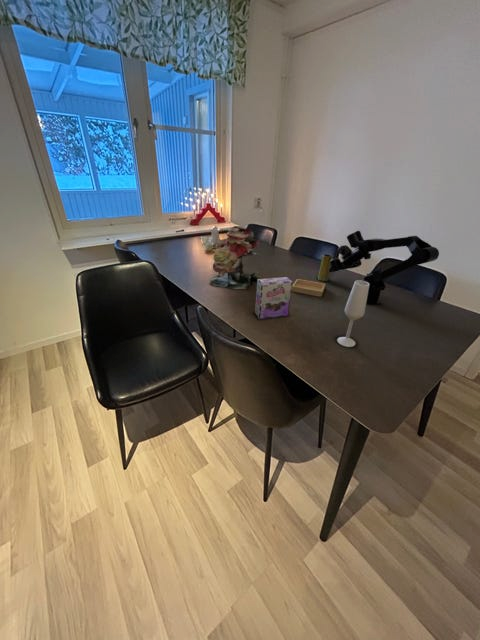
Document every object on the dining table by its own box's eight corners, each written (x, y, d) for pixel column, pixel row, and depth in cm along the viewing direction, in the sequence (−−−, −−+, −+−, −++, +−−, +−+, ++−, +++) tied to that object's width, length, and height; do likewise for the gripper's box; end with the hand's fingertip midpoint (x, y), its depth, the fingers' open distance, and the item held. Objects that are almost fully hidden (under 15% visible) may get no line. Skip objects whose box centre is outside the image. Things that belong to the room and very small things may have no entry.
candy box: (258, 319, 117) (261, 283, 108) (254, 313, 121) (256, 278, 113) (288, 316, 120) (293, 281, 112) (283, 310, 125) (287, 276, 117)
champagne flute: (351, 336, 107) (367, 279, 95) (358, 346, 101) (376, 287, 89) (334, 336, 106) (348, 279, 94) (340, 346, 101) (356, 286, 89)
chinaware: (198, 244, 223) (195, 224, 215) (218, 241, 227) (215, 221, 218) (205, 254, 200) (201, 231, 192) (227, 251, 204) (224, 228, 195)
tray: (324, 288, 148) (325, 283, 146) (321, 296, 138) (322, 291, 137) (296, 283, 153) (297, 278, 151) (291, 291, 144) (291, 286, 142)
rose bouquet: (224, 269, 169) (223, 219, 154) (266, 279, 156) (270, 225, 141) (198, 282, 150) (195, 226, 135) (243, 295, 137) (246, 234, 122)
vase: (324, 282, 156) (329, 257, 149) (315, 278, 160) (319, 255, 153) (330, 279, 160) (335, 255, 152) (321, 276, 163) (325, 253, 156)
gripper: (362, 240, 142) (341, 255, 156) (336, 243, 134) (317, 259, 148) (371, 258, 140) (349, 272, 154) (345, 263, 132) (325, 277, 145)
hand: (335, 270), depth 150 cm, fingers open, 9 cm apart
